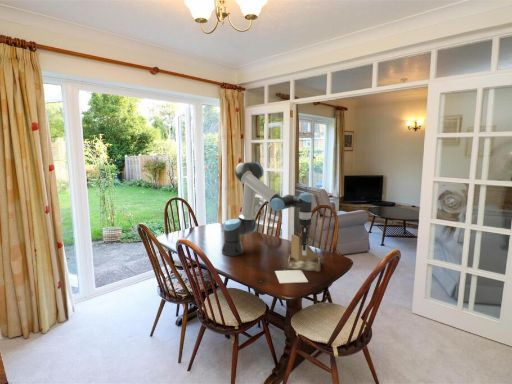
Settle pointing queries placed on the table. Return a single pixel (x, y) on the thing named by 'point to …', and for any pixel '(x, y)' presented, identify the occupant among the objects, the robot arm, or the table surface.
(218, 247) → the table surface
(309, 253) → the sandwich container
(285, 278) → the linen napkin
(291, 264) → the crate
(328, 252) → the table surface
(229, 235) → the robot arm
